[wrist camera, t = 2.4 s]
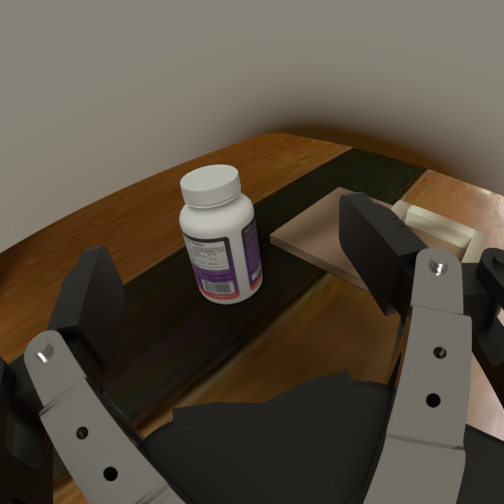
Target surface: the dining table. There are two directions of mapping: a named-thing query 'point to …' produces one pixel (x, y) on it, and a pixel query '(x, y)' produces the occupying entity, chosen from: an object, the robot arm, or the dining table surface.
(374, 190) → the dining table surface
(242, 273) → the pill bottle
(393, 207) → the socket board
